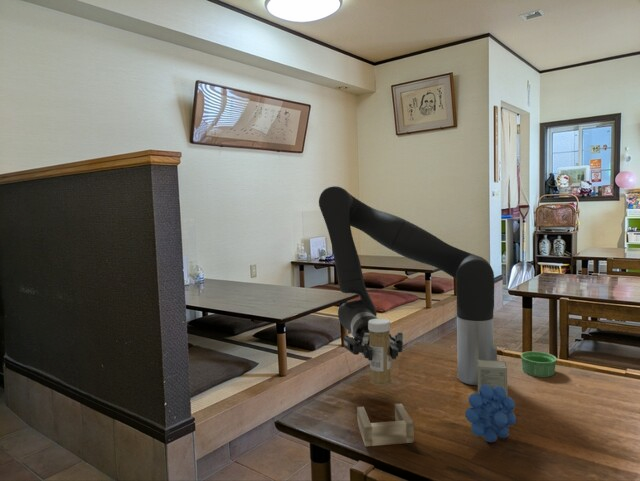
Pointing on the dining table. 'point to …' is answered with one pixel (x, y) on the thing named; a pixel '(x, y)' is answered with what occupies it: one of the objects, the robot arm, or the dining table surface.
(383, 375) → the spice jar
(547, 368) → the ramekin
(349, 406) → the dining table surface
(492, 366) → the skincare box
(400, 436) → the pocket
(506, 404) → the blue bumpy cluster
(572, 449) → the dining table surface
